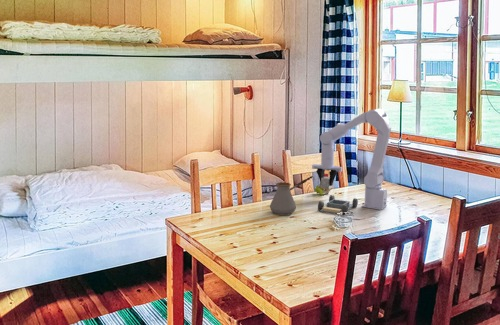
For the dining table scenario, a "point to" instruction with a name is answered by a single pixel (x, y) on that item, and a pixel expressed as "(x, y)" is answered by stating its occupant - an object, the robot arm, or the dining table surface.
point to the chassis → (336, 205)
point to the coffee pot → (284, 198)
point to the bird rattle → (319, 189)
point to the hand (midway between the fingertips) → (326, 184)
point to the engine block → (325, 183)
